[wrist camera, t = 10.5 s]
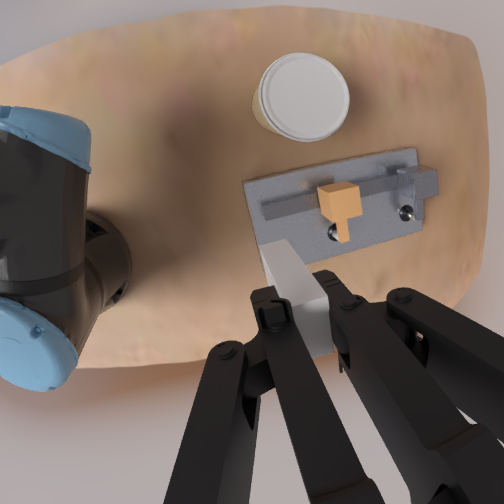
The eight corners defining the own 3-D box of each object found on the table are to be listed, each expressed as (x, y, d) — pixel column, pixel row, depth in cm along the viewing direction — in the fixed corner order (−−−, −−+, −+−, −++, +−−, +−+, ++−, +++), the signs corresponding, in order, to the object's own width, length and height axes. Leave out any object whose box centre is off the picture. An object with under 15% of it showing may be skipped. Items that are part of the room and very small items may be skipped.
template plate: (263, 269, 47) (273, 295, 40) (241, 182, 42) (249, 192, 35) (415, 226, 48) (444, 242, 41) (408, 147, 43) (440, 152, 36)
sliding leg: (322, 240, 44) (337, 254, 39) (313, 185, 41) (328, 193, 36) (348, 233, 44) (365, 246, 39) (340, 179, 41) (358, 186, 36)
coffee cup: (328, 109, 40) (369, 103, 29) (279, 154, 41) (306, 161, 30) (281, 58, 37) (308, 33, 26) (230, 103, 38) (239, 91, 27)
